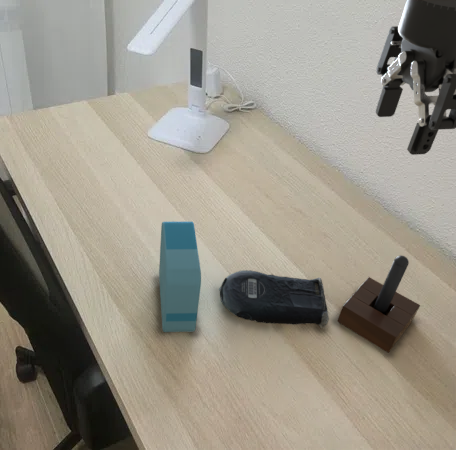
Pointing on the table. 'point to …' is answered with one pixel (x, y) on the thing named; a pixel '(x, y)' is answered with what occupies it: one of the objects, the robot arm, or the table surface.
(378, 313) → the pen stand
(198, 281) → the data package
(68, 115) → the table surface
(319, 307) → the electronic device
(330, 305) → the table surface
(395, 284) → the dark grey peg
